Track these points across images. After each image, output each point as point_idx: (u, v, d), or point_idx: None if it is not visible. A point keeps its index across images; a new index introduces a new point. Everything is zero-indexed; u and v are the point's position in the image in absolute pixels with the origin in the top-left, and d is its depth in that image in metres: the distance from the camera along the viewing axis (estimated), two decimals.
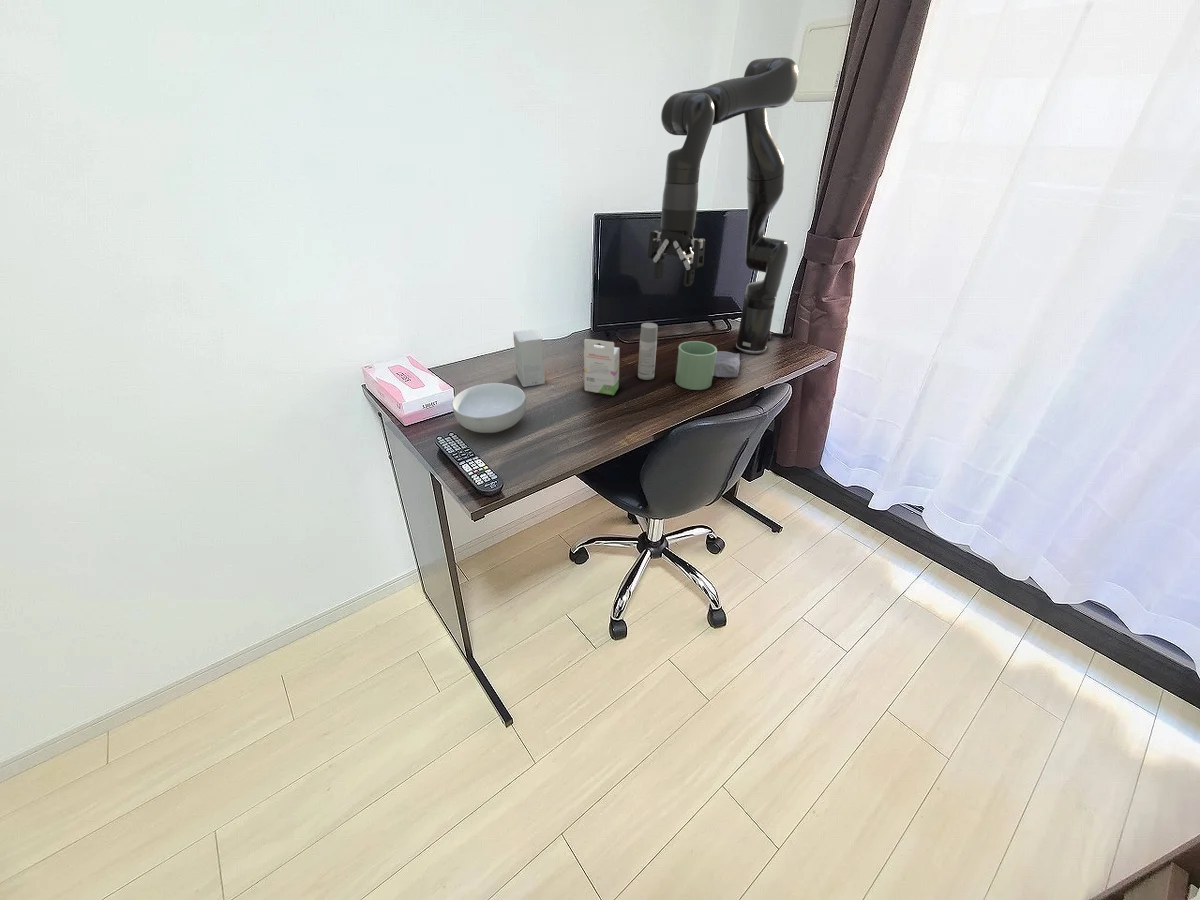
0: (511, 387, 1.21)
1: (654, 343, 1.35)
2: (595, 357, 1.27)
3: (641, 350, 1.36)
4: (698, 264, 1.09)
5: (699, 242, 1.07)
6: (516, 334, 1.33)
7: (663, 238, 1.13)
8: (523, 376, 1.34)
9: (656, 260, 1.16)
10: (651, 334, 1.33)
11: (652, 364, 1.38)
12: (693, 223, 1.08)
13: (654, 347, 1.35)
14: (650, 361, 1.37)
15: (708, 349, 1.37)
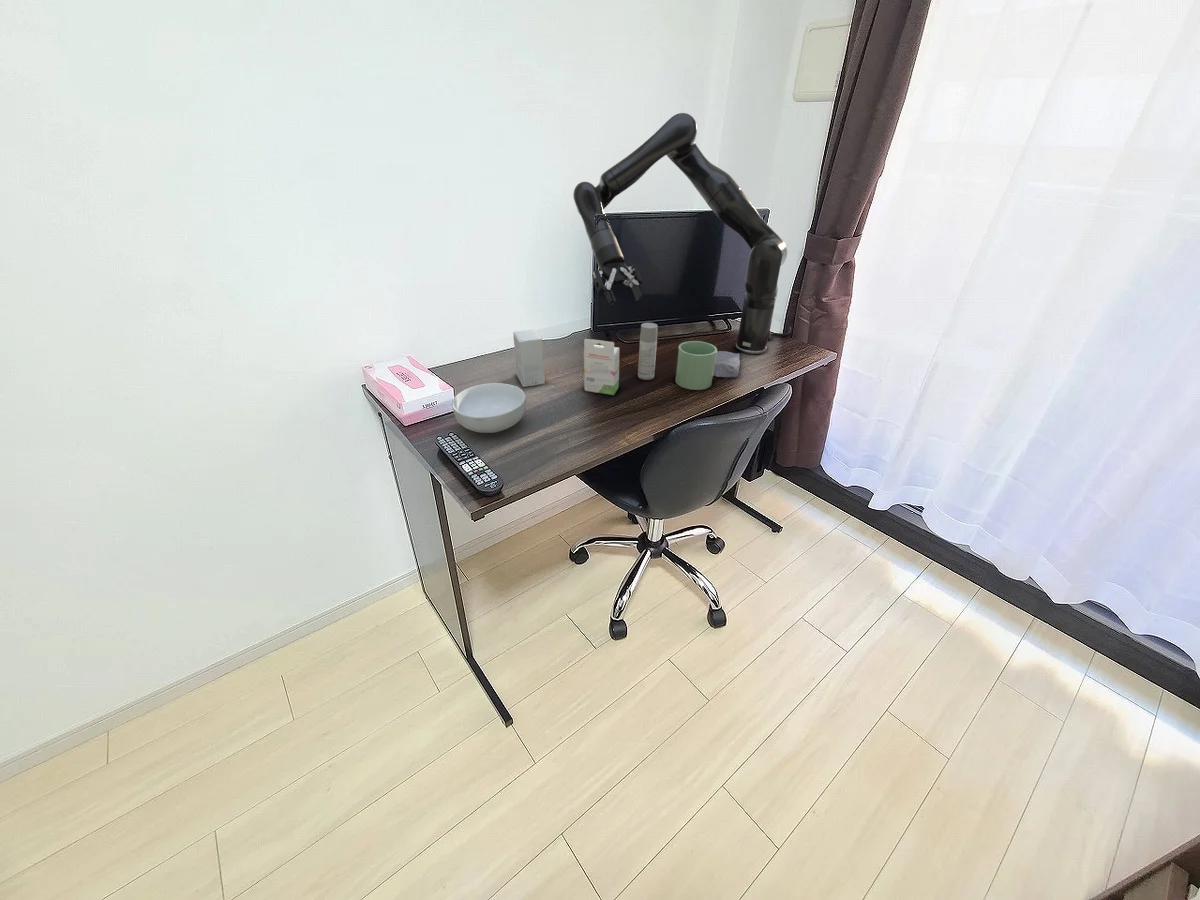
0: (511, 387, 1.21)
1: (654, 343, 1.35)
2: (595, 357, 1.27)
3: (641, 350, 1.36)
4: None
5: None
6: (516, 334, 1.33)
7: (608, 271, 1.39)
8: (523, 376, 1.34)
9: (609, 287, 1.38)
10: (651, 334, 1.33)
11: (652, 364, 1.38)
12: None
13: (654, 347, 1.35)
14: (650, 361, 1.37)
15: (708, 349, 1.37)
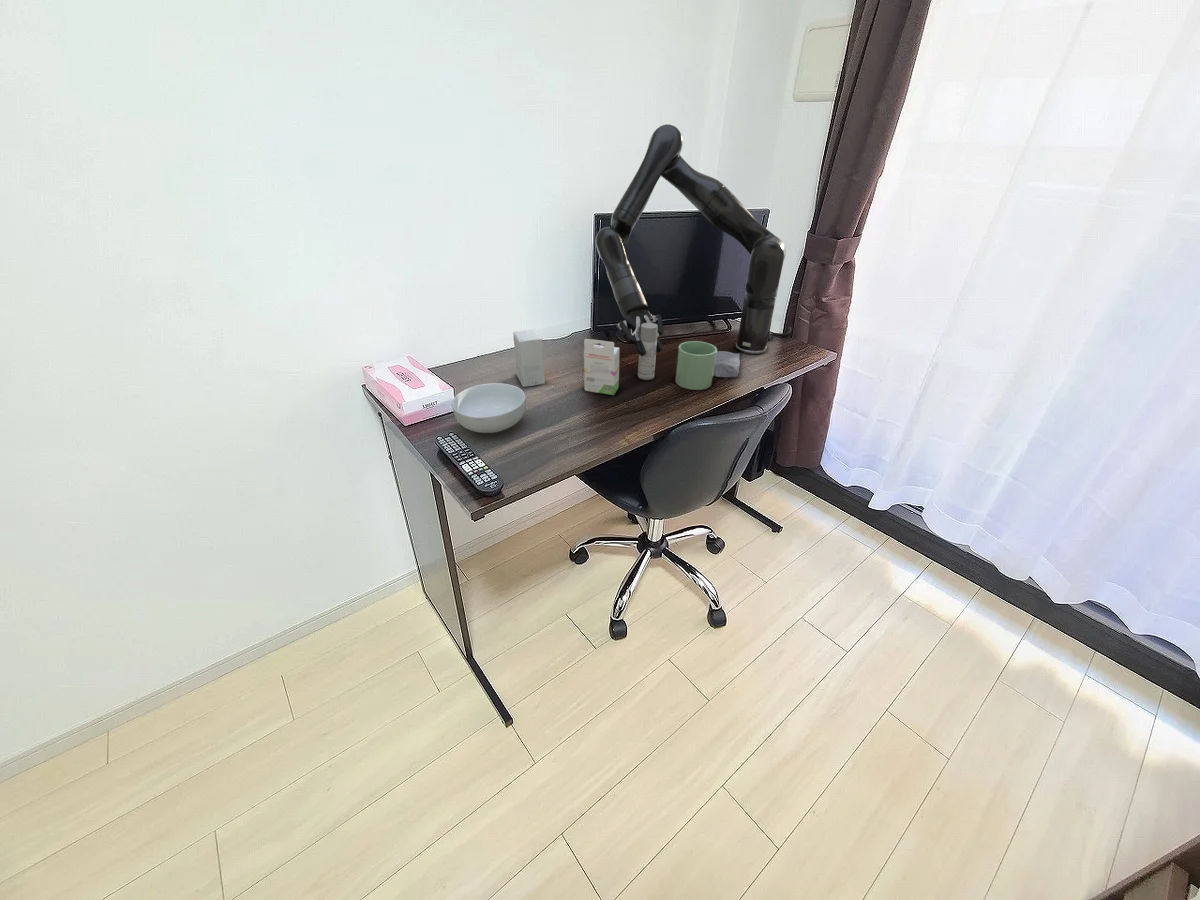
0: (511, 387, 1.21)
1: (654, 343, 1.35)
2: (595, 357, 1.27)
3: None
4: None
5: None
6: (516, 334, 1.33)
7: (631, 319, 1.35)
8: (523, 376, 1.34)
9: (639, 338, 1.34)
10: (651, 334, 1.33)
11: (652, 364, 1.38)
12: None
13: (654, 347, 1.35)
14: (650, 361, 1.37)
15: (708, 349, 1.37)
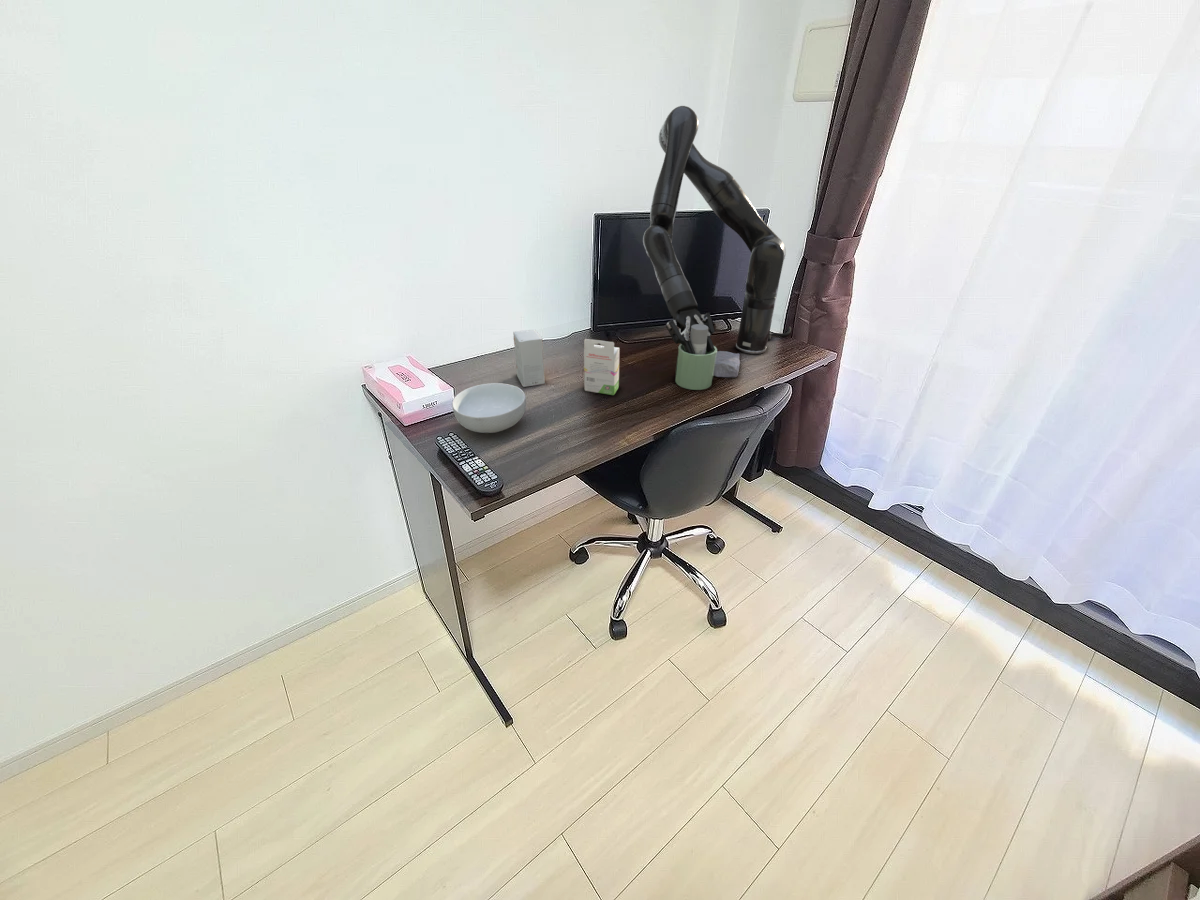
0: (511, 387, 1.21)
1: (704, 345, 1.32)
2: (595, 357, 1.27)
3: None
4: None
5: None
6: (516, 334, 1.33)
7: (681, 319, 1.32)
8: (523, 376, 1.34)
9: (688, 338, 1.31)
10: (702, 336, 1.30)
11: None
12: None
13: (704, 349, 1.32)
14: None
15: None
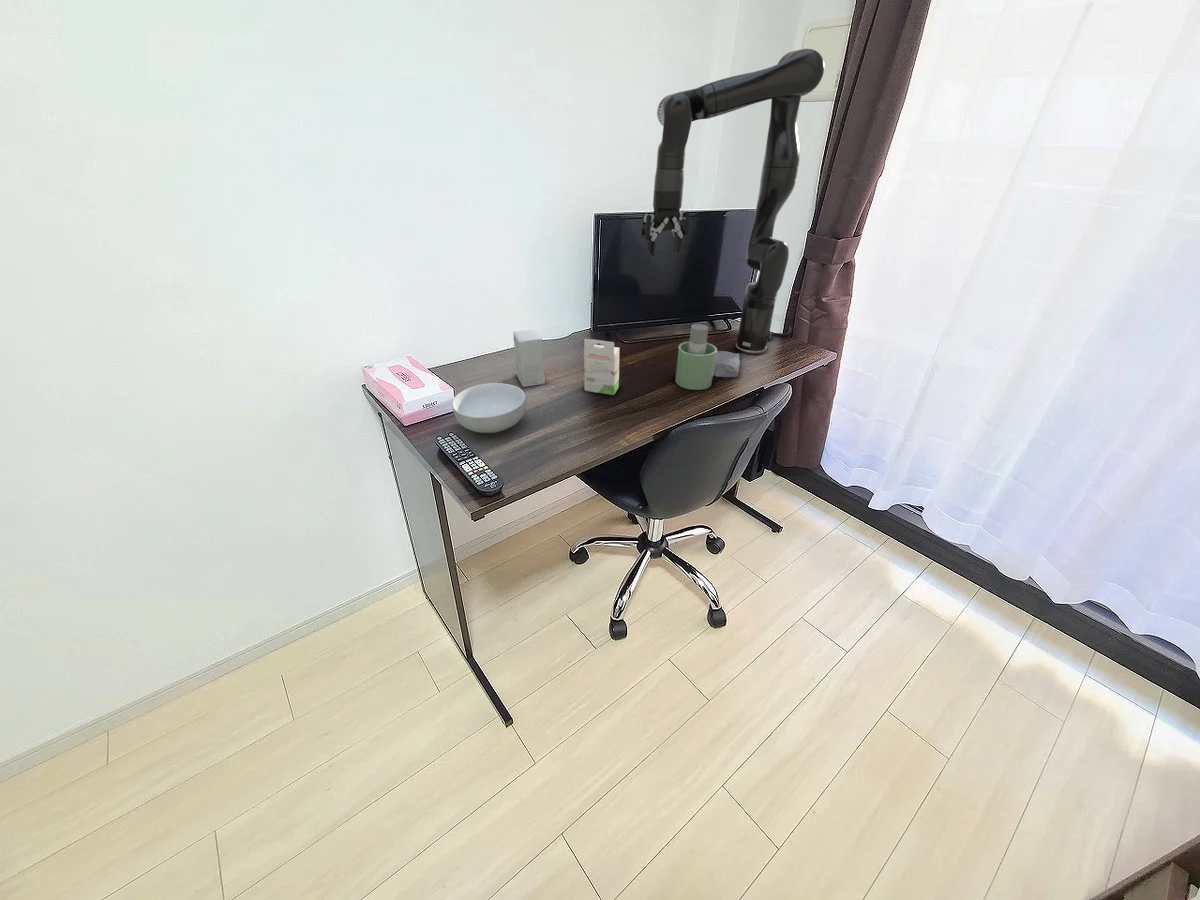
0: (511, 387, 1.21)
1: (704, 345, 1.32)
2: (595, 357, 1.27)
3: (690, 352, 1.33)
4: None
5: None
6: (516, 334, 1.33)
7: (660, 218, 1.31)
8: (523, 376, 1.34)
9: (654, 239, 1.33)
10: (702, 336, 1.30)
11: None
12: None
13: (704, 349, 1.32)
14: None
15: (708, 349, 1.37)
